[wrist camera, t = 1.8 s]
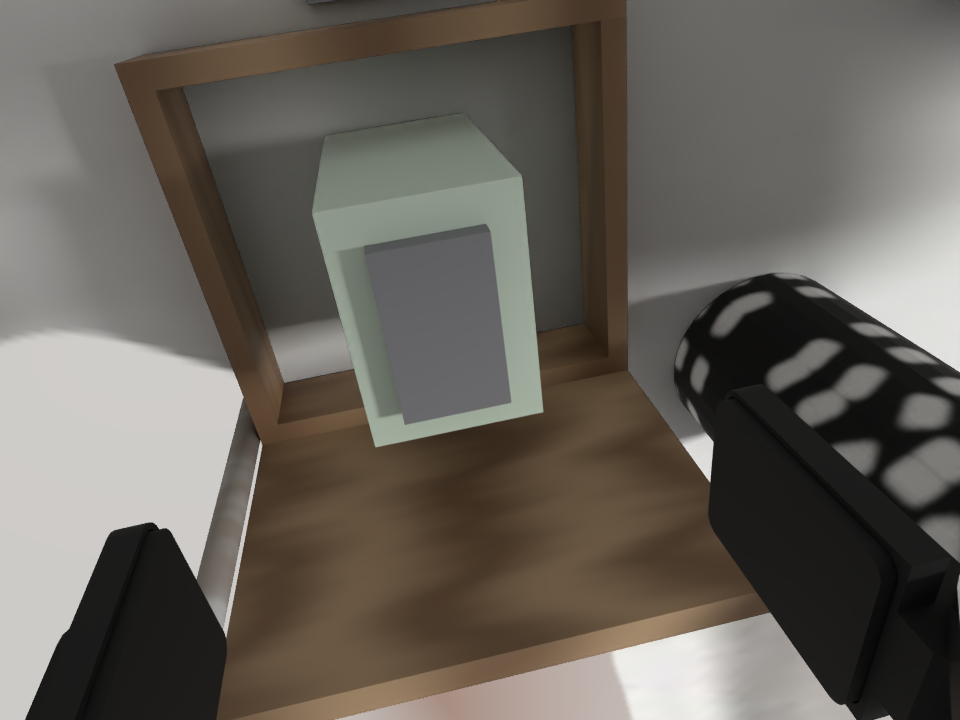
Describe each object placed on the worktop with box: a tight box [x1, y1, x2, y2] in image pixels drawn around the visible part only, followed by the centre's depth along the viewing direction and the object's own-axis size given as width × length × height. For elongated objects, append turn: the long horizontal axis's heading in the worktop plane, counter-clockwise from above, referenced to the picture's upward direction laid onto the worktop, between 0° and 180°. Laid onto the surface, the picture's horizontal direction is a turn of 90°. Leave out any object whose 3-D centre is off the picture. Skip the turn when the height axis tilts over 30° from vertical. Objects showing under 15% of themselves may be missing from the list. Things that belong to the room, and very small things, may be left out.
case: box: [114, 0, 770, 720], centre depth 19 cm, size 16×15×14 cm
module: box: [312, 113, 543, 447], centre depth 20 cm, size 5×7×10 cm
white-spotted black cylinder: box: [674, 273, 960, 563], centre depth 22 cm, size 8×8×20 cm
